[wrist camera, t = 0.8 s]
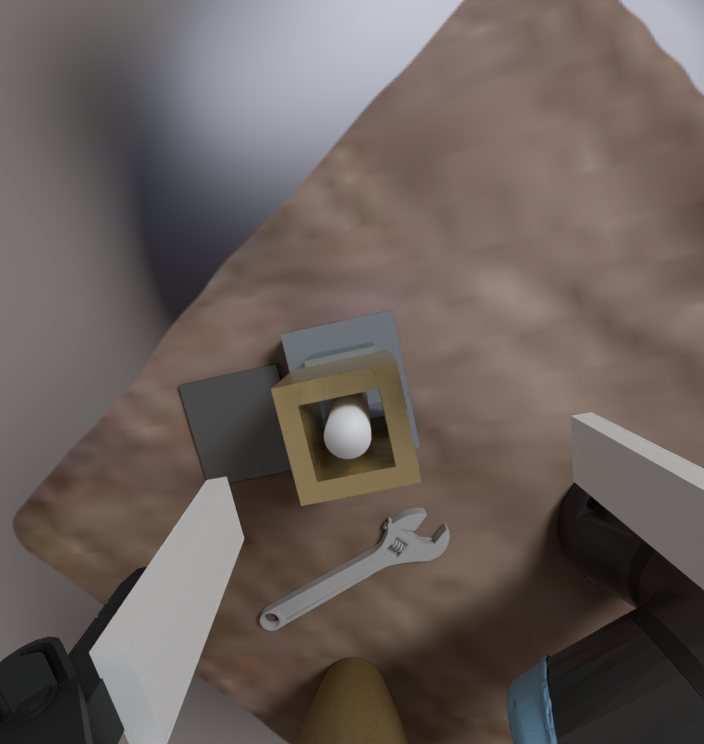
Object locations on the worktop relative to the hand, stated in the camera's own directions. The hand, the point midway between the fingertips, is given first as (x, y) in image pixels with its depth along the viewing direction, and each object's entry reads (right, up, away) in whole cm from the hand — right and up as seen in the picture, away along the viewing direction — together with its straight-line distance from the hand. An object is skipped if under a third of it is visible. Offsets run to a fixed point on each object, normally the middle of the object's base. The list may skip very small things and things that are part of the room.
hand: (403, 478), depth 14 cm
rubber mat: (-14, -2, +27) cm, 31 cm away
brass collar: (-2, +1, +17) cm, 17 cm away
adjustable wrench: (-2, -19, +30) cm, 36 cm away
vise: (-2, +3, +26) cm, 26 cm away
